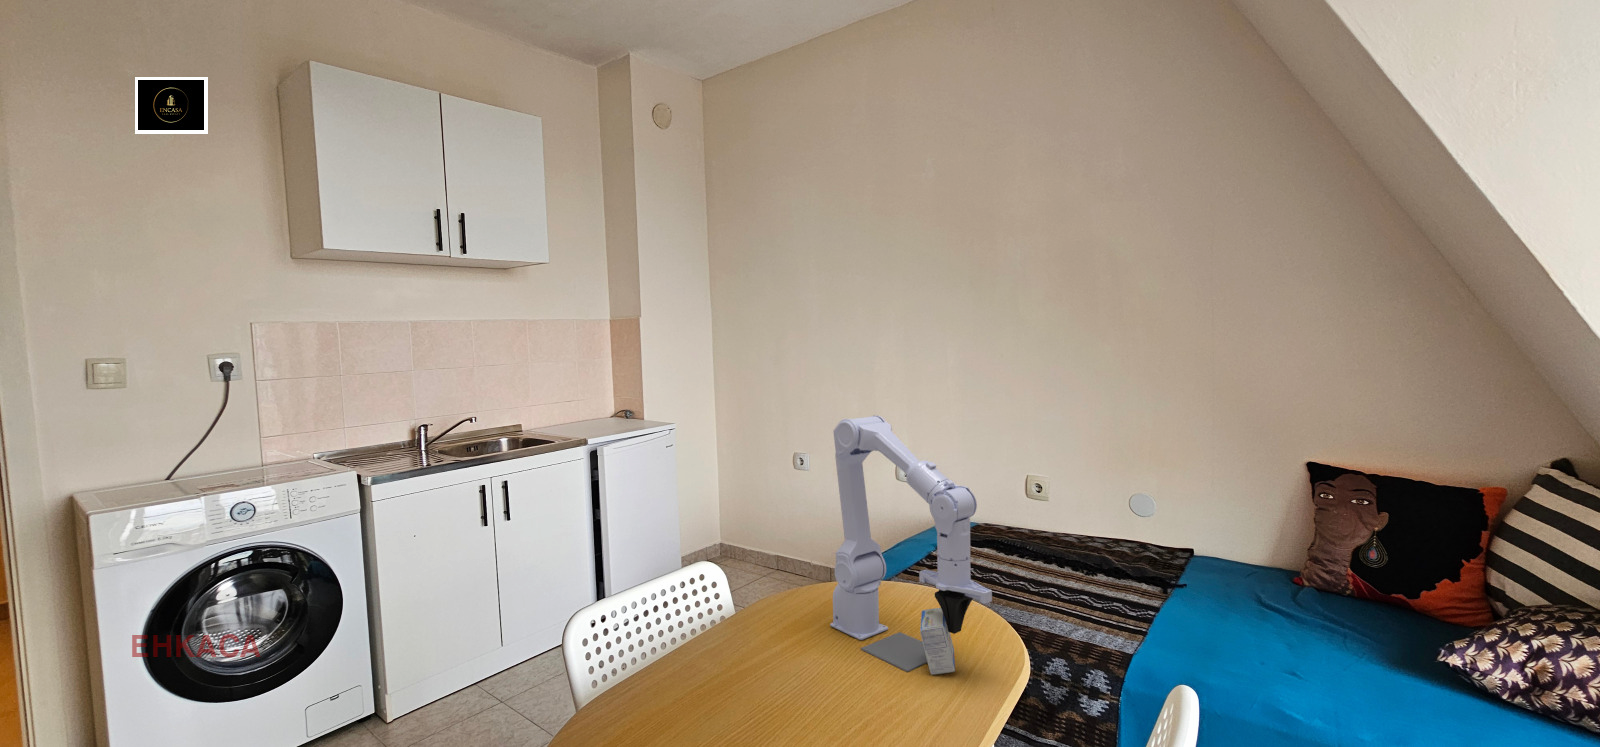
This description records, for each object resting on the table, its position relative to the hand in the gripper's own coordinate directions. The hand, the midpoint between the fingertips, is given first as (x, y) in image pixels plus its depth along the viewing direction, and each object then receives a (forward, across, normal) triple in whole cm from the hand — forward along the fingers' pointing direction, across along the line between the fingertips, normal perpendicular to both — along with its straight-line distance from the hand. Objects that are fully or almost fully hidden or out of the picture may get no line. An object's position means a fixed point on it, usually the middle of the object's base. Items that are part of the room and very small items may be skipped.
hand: (954, 631), depth 121 cm
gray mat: (+7, -12, -1) cm, 14 cm away
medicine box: (+7, -3, 0) cm, 7 cm away
